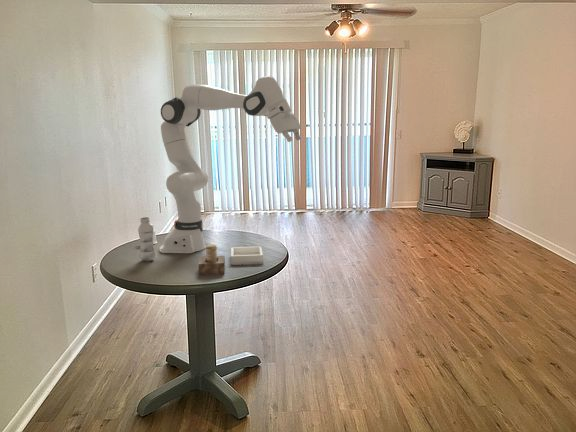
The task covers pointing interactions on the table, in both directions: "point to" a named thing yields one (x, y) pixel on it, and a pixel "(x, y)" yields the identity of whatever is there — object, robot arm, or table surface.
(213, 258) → the pin
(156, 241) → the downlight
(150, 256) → the plastic bottle
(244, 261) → the tray
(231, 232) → the table surface
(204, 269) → the socket
